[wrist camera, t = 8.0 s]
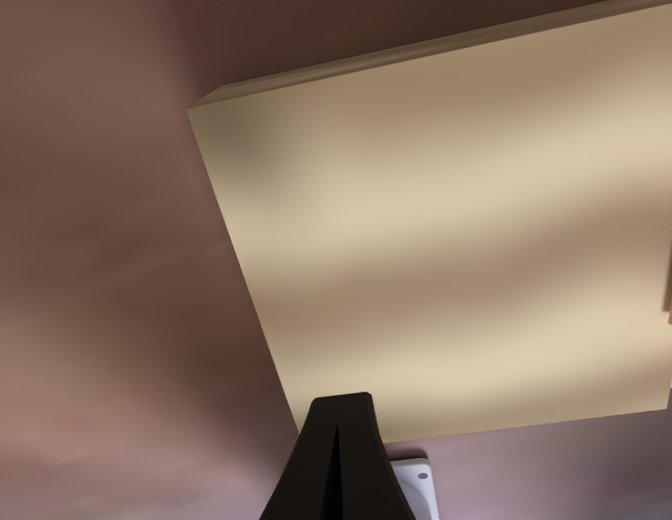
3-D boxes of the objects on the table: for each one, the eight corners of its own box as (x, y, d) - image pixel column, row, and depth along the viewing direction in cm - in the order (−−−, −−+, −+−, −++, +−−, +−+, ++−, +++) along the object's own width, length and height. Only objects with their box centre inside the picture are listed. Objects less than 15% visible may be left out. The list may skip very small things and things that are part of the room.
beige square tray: (613, 341, 21) (666, 408, 18) (312, 383, 23) (305, 453, 19) (648, -10, 14) (745, -13, 11) (220, 85, 16) (185, 109, 13)
